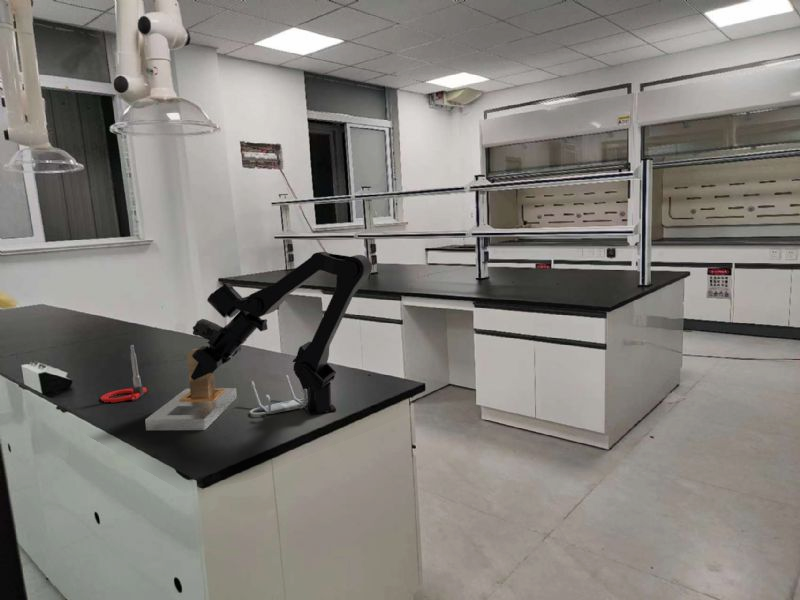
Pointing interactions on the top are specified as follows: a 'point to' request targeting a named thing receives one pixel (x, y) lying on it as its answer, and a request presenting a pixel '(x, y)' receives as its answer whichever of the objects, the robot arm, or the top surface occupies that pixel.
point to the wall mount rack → (279, 406)
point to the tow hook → (136, 391)
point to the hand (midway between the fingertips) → (196, 375)
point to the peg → (200, 380)
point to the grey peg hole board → (191, 411)
